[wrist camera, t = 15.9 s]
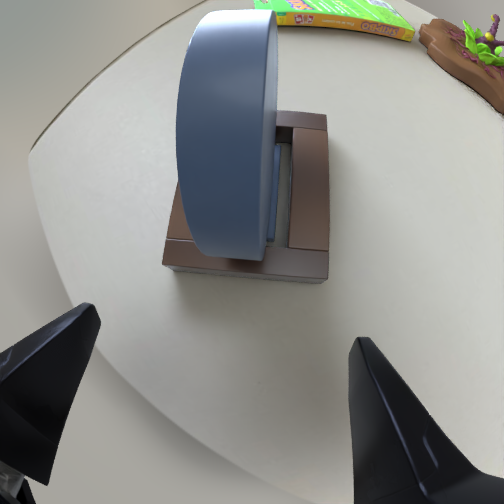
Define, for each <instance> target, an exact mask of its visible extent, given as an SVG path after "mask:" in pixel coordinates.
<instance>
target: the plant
mask: <svg viewBox="0 0 504 504" xmlns="http://www.w3.org/2000/svg"><path fill="white" fill-rule="evenodd" d="M491 19H492V21H494V23H493V26H492V27H491V29H490V31H488V32H487V33H486V34H485V35H484V36H483V34H482V33H481V31H480V30H479V29H478V28H477V29H476V32H475V33H474V31H473V29H472V28H471V27H470V25H469V24H468V23H466V22H465V20H464V21H463V23H464V24H465V27H466V30H465V29H464V30H465V31H463V30H461V29H460V28H458V27H457V26H455V25H453V24H452V23H449V22H447V21H445V20H443V19H432V21H431V23H430V24H422V25H421V27H420V30H419V33H420V38H419V41H420V42H421V43H422V44H423V45H425V46H426V47H427V48H428V50H427V53H428V54H429V56H430V57H431V58H432V59H433V60H434V61H435V62H436V63H437V64H438V65H439V66H441V67H442V68H443V69H444V70H445V71H447V72H448V73H450V74H451V75H453V76H454V77H456V78H457V79H459V80H461V81H463V82H464V83H466V84H467V85H469V86H470V87H472V88H473V89H474V90H475V91H477V92H478V93H479V94H480V95H481V96H483V97H484V98H485V99H486V100H487V101H488V102H489V103H490V104H491V105H492V106H493V107H494V108H495V109H496V110H497V111H498V112H500V113H502V114H504V57H499V56H498V55H499V54H500V53H501V51H502V48H501V47H500V46H504V41H497V40H495V34H496V32H497V29H498V25H499V24H498V23H499V21H500V18H499V16H497V15H496V14H495V15H492V16H491Z"/></svg>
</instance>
